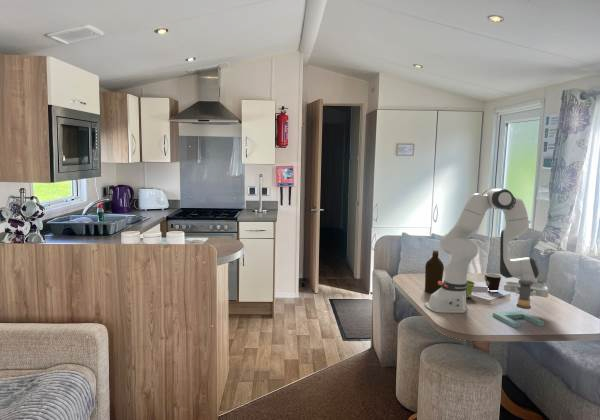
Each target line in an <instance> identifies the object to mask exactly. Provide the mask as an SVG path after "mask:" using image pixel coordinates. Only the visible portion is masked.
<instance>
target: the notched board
mask: <svg viewBox="0 0 600 420" xmlns="http://www.w3.org/2000/svg"><path fill="white" fill-rule="evenodd" d="M492 317H494V318H495V319H498V320H499V321H500V322H502V323H504V324H506V325H508V326H510V327H512V328H515V329H517V328H520V326H521V325H520V324H521V323H520V322H518V321H516V320H514V319H524V320H526V321H528V322H530V323H531V324H534V325H536V326H537V327H542V326H544V325H545V324H544V323H545V321H544V320H541V319H540V318H537V317H535V316H534V315H531V314H528V313H527V312H525V311H522V310H510V311H509V310H508V311H494V312H492Z"/></svg>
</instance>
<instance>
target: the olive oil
mask: <svg viewBox="0 0 600 420" xmlns="http://www.w3.org/2000/svg"><path fill="white" fill-rule="evenodd" d="M444 269H445V267H444V263H443V262H442V260H441V259H440V258H439V251H438V250H434V249H433V251H432V256H431V258H429V259H428V260H427V261H426V262H425V269H424V271H425V272H424V274H425V275H424V276H425V277H424V278H425V279H424V291H425V293H429V294H433V293H434V292H436V291H437V290H438V289H440V288H441V286H442V285H439V284H438V281H441V282H442V283H443V277H444Z"/></svg>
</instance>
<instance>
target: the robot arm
mask: <svg viewBox="0 0 600 420" xmlns="http://www.w3.org/2000/svg"><path fill="white" fill-rule="evenodd" d="M489 209H493V210H501V211H502V213H503V214H504V222H505V226H504V228H503V229H502V230H501V232H500V238H499V240H500V241H499V242H500V243H499V249H500V250H499V252H500V253H499V266H498V269H499V273H500V274H499V275H500V276H501V277H504V278H506V279H510V278H515V277H516V278H517V277H520V278H519V280H529V281H532V282H533V284H532V285H531V288H530V297H531V296H532V297H541V298H549V287H548V286H547V283H546V282H543V281H542V282H541V281H538V276H539V272H540V271H539V267H538V263H537V261H536V260H535V259H534V258H533V257H531V256H530V257H521V258H520V257H519V258H509V244H510V242H511V241H512V240H514V239H516V238H518V237H520V236H522V235H524V234H525V233H526V232H527V231H528V229H529V226H530V225H529V216H528V212H527V208H526V206H525V203H524V201H523V200H522V199H520V198H517V197H515V195H514V194H513V193H512V192H511V190H508V189H506V188H497V187H496V188H490V189H487V190H486V191H484V192H483V193H479V192H477V193H473V194H471V196H470V197H469V199H468V200H467V201H466V203H465V204H464V207H463V208H462V211H461V213H460V215H459V218H458V219H457V222H456V223H455V225H454V226H453V227H452V228H451V229H450V231H448V232H447V233H446V234H444V235H443V236H442V237H441V238H440V240H439V246H440V248H441V250H443V251H444V252H445V253H446V254H448V255H451V259H450V260H449V261H450V262H449V263H447V265H446V267H445V272H444V280H443V281H442V282H441V281H438V284H439V285H442V286H441V288H440V289H438V290H437V291H436V292H434V293H433V294H432V293H430V296H429V301H427V302H424V307H426V308H427V309H429V310H431V311H432V312H435V313H444V314H445V313H446V314H447V313H450V314H452V313H453V314H454V313H455V314H457V313H459V314H460V313H462V314H463V313H464V314H465V313H466V312H467V310H468V304H467V298H466V290H467V283H466V280H467V279H468V269H469V266H470V264H471V261H472V260H474V259H475V258H476V256H477V254H478V253H479V248H478V245H477V244H476V243H475V242H474V241H473V240H472V239H469V238H470V237H471V235H472V234H475V233H476V232H478V230H479V229H480V228H479V227H480V226H481V224H482V222H483V219H484V218H485V215H486V213H487V211H489ZM503 290H504V292H511V293H515V294H517V295H519V294H520V283H519V281H517V282H514V281H506V282H505V283H504V284H503Z"/></svg>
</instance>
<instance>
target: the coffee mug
mask: <svg viewBox="0 0 600 420" xmlns="http://www.w3.org/2000/svg"><path fill="white" fill-rule="evenodd" d="M501 279H502V275H501V274H496V273H486V274H484V280H485V282H486V284H485V285H487V286H488V288H489V290H498V291H499V290H500V289H499V288H500V283H501Z"/></svg>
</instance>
